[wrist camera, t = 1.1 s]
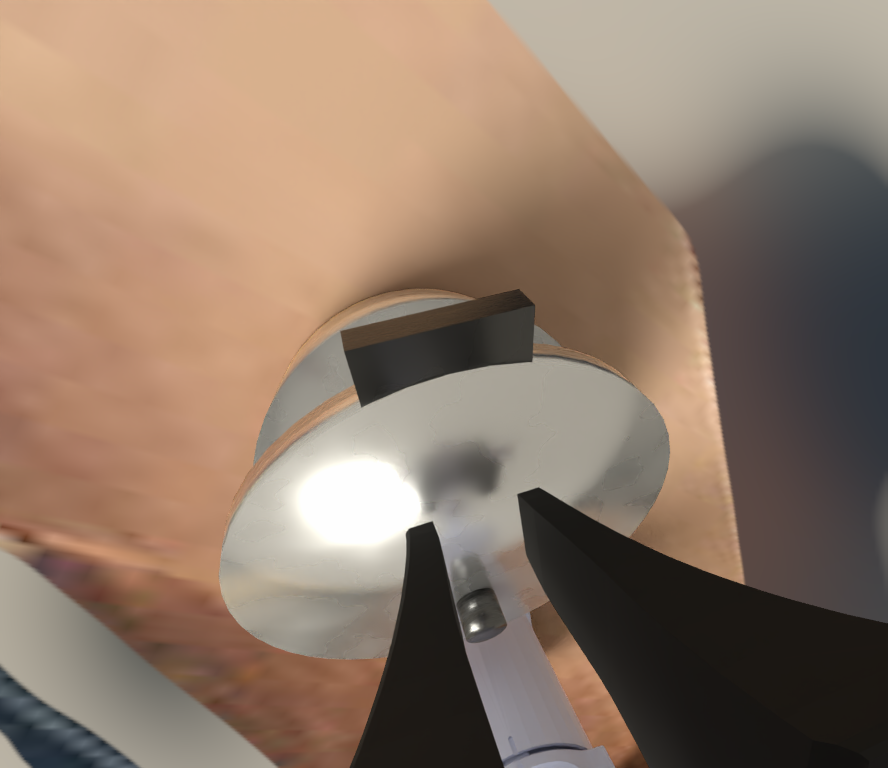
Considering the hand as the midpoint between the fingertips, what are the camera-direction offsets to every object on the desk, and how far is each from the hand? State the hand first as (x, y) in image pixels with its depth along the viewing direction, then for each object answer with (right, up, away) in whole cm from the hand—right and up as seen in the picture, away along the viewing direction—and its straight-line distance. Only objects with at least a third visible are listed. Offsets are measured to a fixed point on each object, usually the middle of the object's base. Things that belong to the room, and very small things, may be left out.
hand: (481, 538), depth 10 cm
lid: (0, 0, +3) cm, 3 cm away
